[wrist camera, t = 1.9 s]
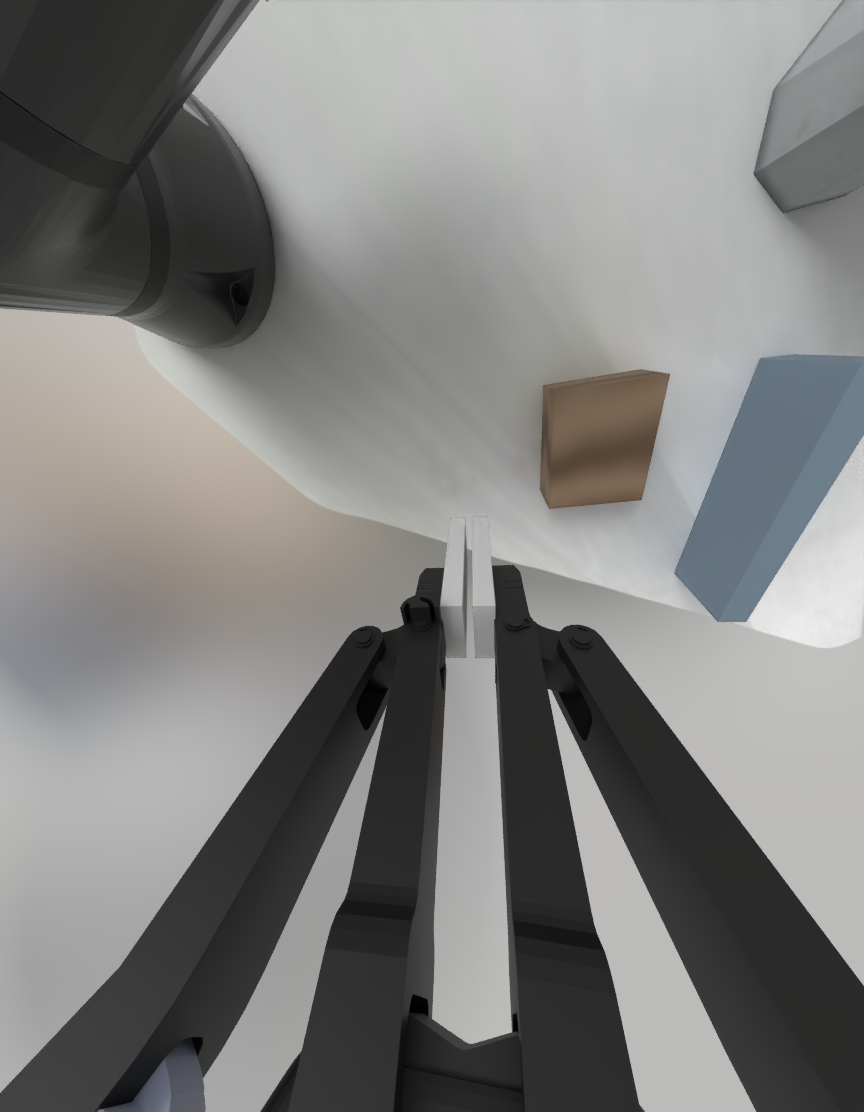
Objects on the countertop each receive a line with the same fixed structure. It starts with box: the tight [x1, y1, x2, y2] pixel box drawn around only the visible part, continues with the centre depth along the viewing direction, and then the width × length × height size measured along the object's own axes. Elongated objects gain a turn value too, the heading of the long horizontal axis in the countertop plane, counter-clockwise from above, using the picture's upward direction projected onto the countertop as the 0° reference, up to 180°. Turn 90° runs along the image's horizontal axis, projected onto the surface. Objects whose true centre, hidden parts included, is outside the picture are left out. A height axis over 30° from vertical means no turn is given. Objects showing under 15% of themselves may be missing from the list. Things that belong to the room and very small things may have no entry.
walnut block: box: [540, 370, 670, 509], centre depth 28 cm, size 10×8×5 cm
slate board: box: [675, 355, 864, 622], centre depth 28 cm, size 22×2×8 cm, turn 6°
